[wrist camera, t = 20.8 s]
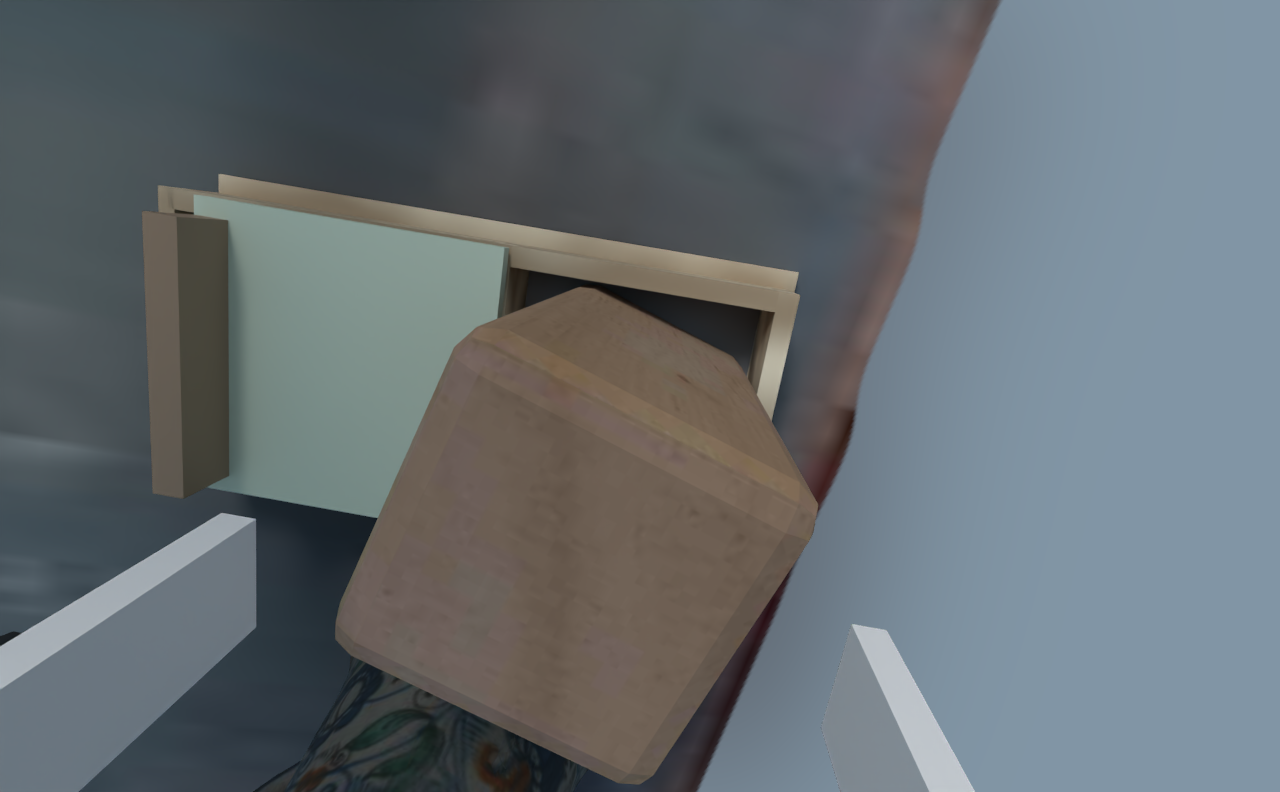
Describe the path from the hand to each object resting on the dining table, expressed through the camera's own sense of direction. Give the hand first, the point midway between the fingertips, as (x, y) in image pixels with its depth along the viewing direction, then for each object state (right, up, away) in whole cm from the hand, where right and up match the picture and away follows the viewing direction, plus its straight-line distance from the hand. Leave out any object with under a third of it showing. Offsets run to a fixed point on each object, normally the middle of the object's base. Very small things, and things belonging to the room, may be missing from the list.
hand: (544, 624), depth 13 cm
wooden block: (+1, +5, +21) cm, 22 cm away
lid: (-13, +6, +17) cm, 22 cm away
